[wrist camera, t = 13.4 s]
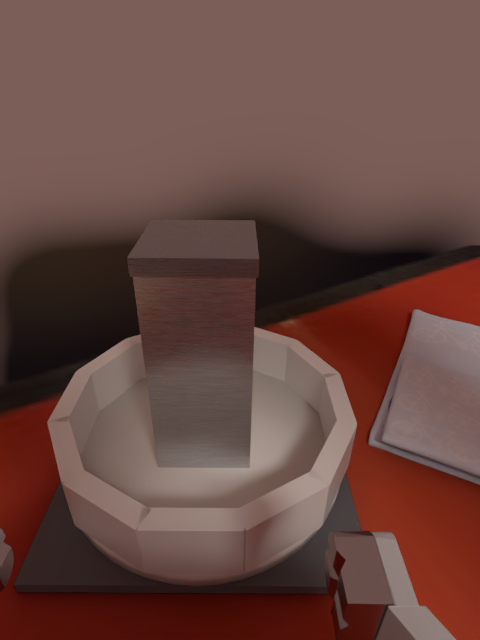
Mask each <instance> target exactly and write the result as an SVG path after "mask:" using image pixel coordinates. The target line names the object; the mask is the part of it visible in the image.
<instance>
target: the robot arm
mask: <svg viewBox="0 0 480 640" xmlns="http://www.w3.org/2000/svg"><path fill="white" fill-rule="evenodd" d="M5 537H6V536H5V534H4V532H3V530H2V528H0V592H1V591H2V590H3V589H4V588H5V587H6V585H7V582H8V580H9V578H10V576H11V572H12V568H13V563H14V555H13V551H12V549H11V547H10V546H9V545H7V544H6V543H4V542H3V541H4V539H5ZM328 542H329V548H328V549H327V550H326V552H325V578H326V585H327V591H328V592H329V594H330V595H331V596H332V597H333V599H334V600H333V605H332V609H331V615H332V620H333V626H334V632H335V637H336V640H456V639H455V638H454V637H453V636H452V634H451V633H450V632H449V631H448V630H447V629H446V628H445V627H444V626H443V625H442V624H441V622H440V621H439V620H438V619H437V618H436V617H435V616H434V615H433V614H432V613H431V612H430V611H429V609H428V608H427V607H426V606H419V604H418V601H417V598H416V596H415V593H414V590H413V587H412V584H411V581H410V578H409V575H408V572H407V569H406V567H405V564H404V561H403V558H402V555H401V552H400V549H399V546H398V543H397V540H396V538H395V536H394V535H393V533H391V532H390V531H331V532H330V533H329V537H328Z"/></svg>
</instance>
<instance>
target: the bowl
mask: <svg viewBox="0 0 480 640" xmlns="http://www.w3.org/2000/svg"><path fill="white" fill-rule="evenodd" d="M47 424H48V428H49V432H50V437H51V441H52V445H53V449H54V454H55V458H56V462H57V466H58V471H59V475H60V479H61V483H62V486H63V490H64V493H65V496H66V499H67V502H68V505H69V509H70V512H71V515H72V518H73V521H74V524H75V526H76V527H78V528H79V529H81V530H82V531H83V533H84V535H85V536H86V537H87V538H88V539H89V541H90V542H91V543H92V544H93V545H94V546H95V548H96V549H98V550H99V551H100V552H101V553H102V554H104V555H105V556H106V557H107V558H108V559H110V560H111V561H112V562H114V563H116V564H117V565H119V566H121V567H123V568H124V569H126V570H128V571H130V572H132V573H135V574H137V575H140V576H143V577H145V578H148V579H151V580H156V581H160V582H165V583H169V584H177V585H190V586H201V585H217V584H223V583H228V582H233V581H238V580H243V579H245V578H248V577H251V576H254V575H257V574H260V573H262V572H265V571H267V570H269V569H271V568H273V567H274V566H276V565H278V564H280V563H282V562H284V561H285V560H287V559H288V558H290V557H291V556H292V555H294V554H295V553H297V552H298V551H299V550H301V549H302V548H303V547H304V546H305V545H306V544H307V543H308V542H309V541H310V540H311V539H312V538H313V537H314V536H315V535H316V534H317V532H318V531H319V530H320V528H321V527H322V526H323V524H324V523H325V522H326V520H327V518H328V516H329V514H330V513H331V511H332V509H333V507H334V504H335V501H336V498H337V495H338V492H339V489H340V484H341V482H342V479H343V477H344V475H345V472H346V470H347V468H348V465H349V461H350V457H351V452H352V447H353V442H354V437H355V433H356V428H357V422H356V419H355V416H354V413H353V410H352V407H351V404H350V401H349V399H348V396H347V393H346V390H345V387H344V384H343V381H342V378H341V375H340V374H339V372H337V371H336V370H335V369H334V368H332V367H331V366H330V365H329V364H327V363H326V362H325V361H323V360H322V359H321V358H320V357H318V356H317V355H316V354H315V353H313V352H312V351H311V350H309V349H308V348H307V347H306V346H304V345H303V344H302V343H301V342H299V341H298V340H296V339H293V338H289V337H286V336H283V335H279V334H276V333H273V332H270V331H266V330H263V329H260V328H256V327H254V352H253V383H252V414H251V445H250V468H162V467H158V462H157V455H156V447H155V440H154V432H153V425H152V417H151V409H150V402H149V394H148V387H147V379H146V372H145V364H144V357H143V349H142V342H141V335H137V336H133V337H130V338H127V339H125V340H123V341H122V342H120V343H118V344H117V345H116V346H114V347H112V348H111V349H109V350H108V351H106V352H105V353H103V354H102V355H100V356H99V357H97V358H96V359H94V360H92V361H91V362H89V363H88V364H86V365H85V366H83V367H82V368H80V369H79V370H77V372H75V374H74V376H73V377H72V379H71V381H70V383H69V384H68V386H67V388H66V390H65V392H64V393H63V395H62V397H61V399H60V400H59V402H58V404H57V406H56V407H55V409H54V411H53V413H52V414H51V416H50V418H49V420H48V421H47Z"/></svg>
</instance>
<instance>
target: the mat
mask: <svg viewBox="0 0 480 640" xmlns="http://www.w3.org/2000/svg"><path fill="white" fill-rule="evenodd" d="M331 531H361V528H360V524H359V521H358V517H357V513H356V510H355V506H354V502H353V499H352V495H351V491H350V488H349V484H348V480H347V476H346V473H345V475H344V477H343V479H342V482H341V484H340V489H339V492H338V495H337V498H336V501H335V504H334V507H333V509H332V511H331V513H330V514H329V516H328V518H327V520H326V522H325V523H324V524H323V526H322V527H321V528H320V530H319V531H318V532H317V534H316V535H315V536H314V537H313V538H312V539H311V540H310V541H309V542H308V543H307V544H306V545H305V546H304V547H303V548H302V549H301V550H299V551H298V552H297V553H295V554H294V555H292V556H291V557H290V558H288V559H287V560H285V561H284V562H282V563H280V564H278V565H276V566H274V567H273V568H271V569H269V570H267V571H265V572H262V573H260V574H257V575H254V576H251V577H248V578H245V579H243V580H238V581H233V582H228V583H223V584H217V585H201V586H190V585H177V584H169V583H165V582H160V581H156V580H151V579H148V578H145V577H143V576H140V575H137V574H135V573H132V572H130V571H128V570H126V569H124V568H123V567H121V566H119V565H117V564H116V563H114V562H112V561H111V560H110V559H108V558H107V557H106V556H105V555H104V554H102V553H101V552H100V551H99V550H98V549H96V548H95V546H94V545H93V544H92V543H91V542H90V541H89V539H88V538H87V537H86V536H85V535H84V533H83V531H82V530H81V529H79V528H78V527H76V526H75V524H74V521H73V518H72V515H71V512H70V509H69V505H68V502H67V499H66V496H65V493H64V490H63V486H62V483H61V480H60V483H59V485H58V487H57V489H56V492H55V494H54V496H53V498H52V500H51V503H50V505H49V507H48V509H47V511H46V514H45V516H44V518H43V520H42V522H41V525H40V527H39V529H38V531H37V534H36V536H35V538H34V540H33V542H32V545H31V547H30V549H29V551H28V553H27V556H26V558H25V560H24V562H23V564H22V567H21V569H20V571H19V573H18V576H17V578H16V580H15V582H14V584H13V585H14V587H15V589H16V591H17V592H87V593H275V594H329V592H328V591H327V585H326V578H325V552H326V550H327V549H328V548H329V542H328V537H329V533H330V532H331Z"/></svg>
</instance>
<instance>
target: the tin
mask: <svg viewBox="0 0 480 640" xmlns="http://www.w3.org/2000/svg"><path fill="white" fill-rule="evenodd" d="M255 228H256V227H255V221H247V220H245V221H243V220H241V221H240V220H234V221H233V220H151V222H150V223H149V225H148V226H147V228H146V229H145V231H144V232H143V234H142V235H141V237H140V239H139V240H138V242H137V243H136V245H135V246H134V248H133V249H132V251H131V253H130V254H129V256H128V257H127V259H128V268H129V275H130V276H133V281H134V289H135V296H136V304H137V311H138V319H139V327H140V334H141V342H142V349H143V357H144V364H145V372H146V379H147V387H148V394H149V402H150V409H151V417H152V425H153V432H154V440H155V447H156V455H157V462H158V467H162V468H250V445H251V414H252V383H253V352H254V320H255V289H256V277H258V276H259V253H258V245H257V236H256V229H255Z"/></svg>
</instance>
